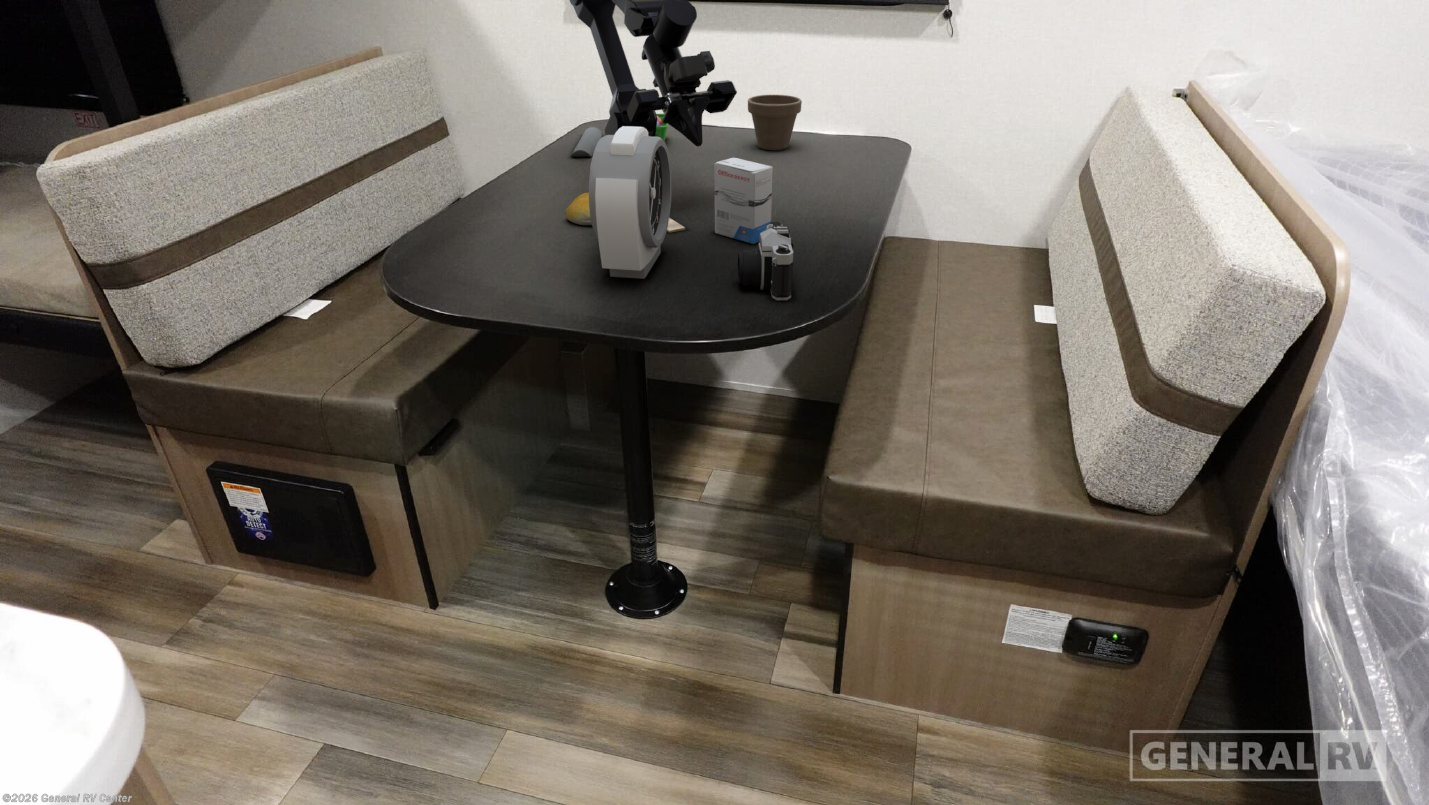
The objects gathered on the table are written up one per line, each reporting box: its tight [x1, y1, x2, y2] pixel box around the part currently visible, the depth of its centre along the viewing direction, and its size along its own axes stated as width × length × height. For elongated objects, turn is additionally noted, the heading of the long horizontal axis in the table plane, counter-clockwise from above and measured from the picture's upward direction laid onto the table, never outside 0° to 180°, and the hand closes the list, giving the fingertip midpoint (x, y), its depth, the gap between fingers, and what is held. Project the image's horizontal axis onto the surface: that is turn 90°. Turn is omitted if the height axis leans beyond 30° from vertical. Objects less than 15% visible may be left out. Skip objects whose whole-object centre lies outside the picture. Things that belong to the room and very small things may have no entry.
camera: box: [737, 221, 795, 301], centre depth 125 cm, size 13×8×9 cm, turn 5°
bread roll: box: [565, 191, 592, 226], centre depth 151 cm, size 8×9×4 cm
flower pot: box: [747, 94, 803, 151], centre depth 189 cm, size 12×11×10 cm
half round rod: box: [571, 126, 603, 158], centre depth 192 cm, size 4×20×2 cm, turn 179°
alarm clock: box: [588, 126, 672, 280], centre depth 129 cm, size 18×8×20 cm, turn 170°
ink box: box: [713, 156, 773, 245], centre depth 141 cm, size 8×5×12 cm, turn 48°
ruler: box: [666, 217, 686, 234], centre depth 152 cm, size 16×3×1 cm, turn 29°
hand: (699, 144), depth 148 cm, fingers closed
